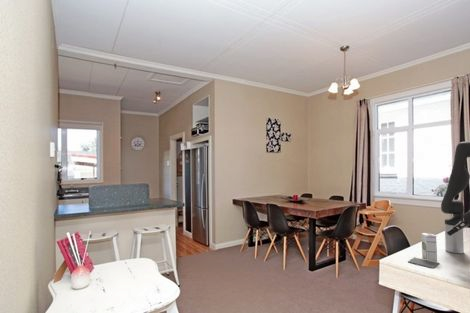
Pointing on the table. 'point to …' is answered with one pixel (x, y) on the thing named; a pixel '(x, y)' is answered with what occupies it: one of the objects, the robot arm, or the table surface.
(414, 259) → the mat
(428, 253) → the syrup box
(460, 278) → the table surface
